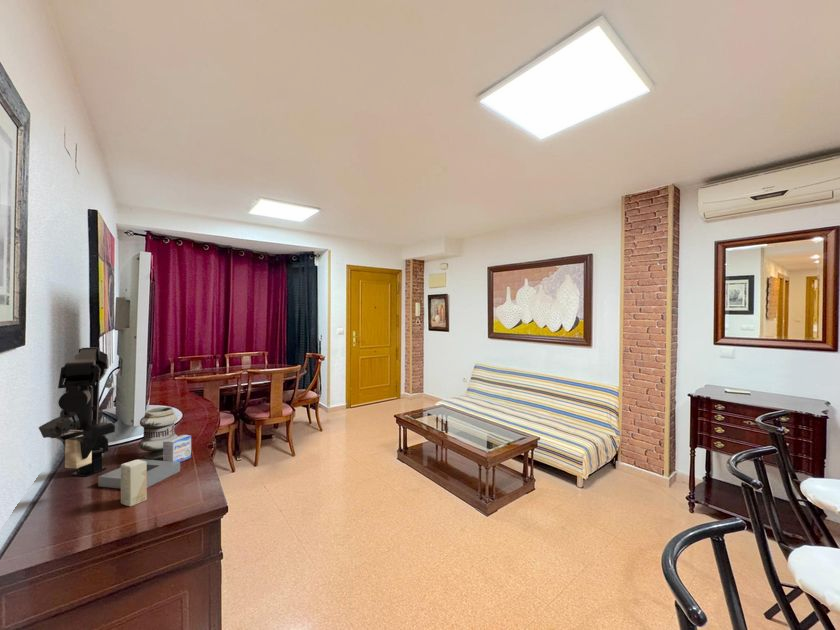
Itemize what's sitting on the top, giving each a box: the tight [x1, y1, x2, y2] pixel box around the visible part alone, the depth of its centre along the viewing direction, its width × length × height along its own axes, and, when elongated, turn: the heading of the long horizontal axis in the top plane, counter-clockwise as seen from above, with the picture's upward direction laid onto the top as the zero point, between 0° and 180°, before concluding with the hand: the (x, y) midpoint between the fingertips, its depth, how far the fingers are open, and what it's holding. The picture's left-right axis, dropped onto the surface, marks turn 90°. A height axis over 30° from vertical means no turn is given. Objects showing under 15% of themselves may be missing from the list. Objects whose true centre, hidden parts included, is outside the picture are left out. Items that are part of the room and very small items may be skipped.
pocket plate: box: [97, 458, 181, 489], centre depth 115 cm, size 16×14×3 cm
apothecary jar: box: [138, 406, 179, 461], centre depth 134 cm, size 12×12×18 cm
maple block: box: [64, 435, 92, 469], centre depth 103 cm, size 4×4×8 cm
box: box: [120, 459, 148, 507], centre depth 100 cm, size 5×4×11 cm
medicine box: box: [162, 434, 192, 463], centre depth 129 cm, size 8×4×9 cm, turn 168°
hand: (78, 458), depth 103 cm, fingers closed on maple block, 4 cm apart
